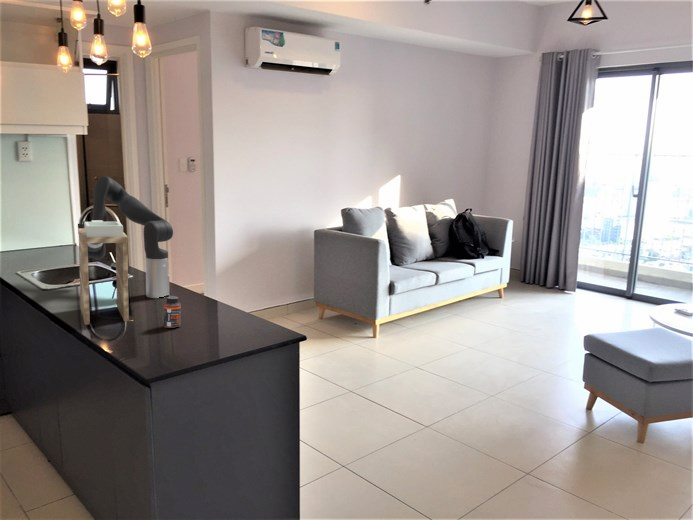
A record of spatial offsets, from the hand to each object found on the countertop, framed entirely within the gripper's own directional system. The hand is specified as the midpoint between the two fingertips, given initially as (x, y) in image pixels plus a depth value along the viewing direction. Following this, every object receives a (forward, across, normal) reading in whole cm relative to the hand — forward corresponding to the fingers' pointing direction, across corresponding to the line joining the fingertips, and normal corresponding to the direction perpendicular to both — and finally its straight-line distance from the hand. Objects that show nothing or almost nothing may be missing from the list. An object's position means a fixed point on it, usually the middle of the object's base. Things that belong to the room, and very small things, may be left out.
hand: (97, 221), depth 232 cm
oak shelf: (-2, 0, +38) cm, 38 cm away
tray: (+10, 0, +8) cm, 12 cm away
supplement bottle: (+18, +21, +50) cm, 57 cm away
